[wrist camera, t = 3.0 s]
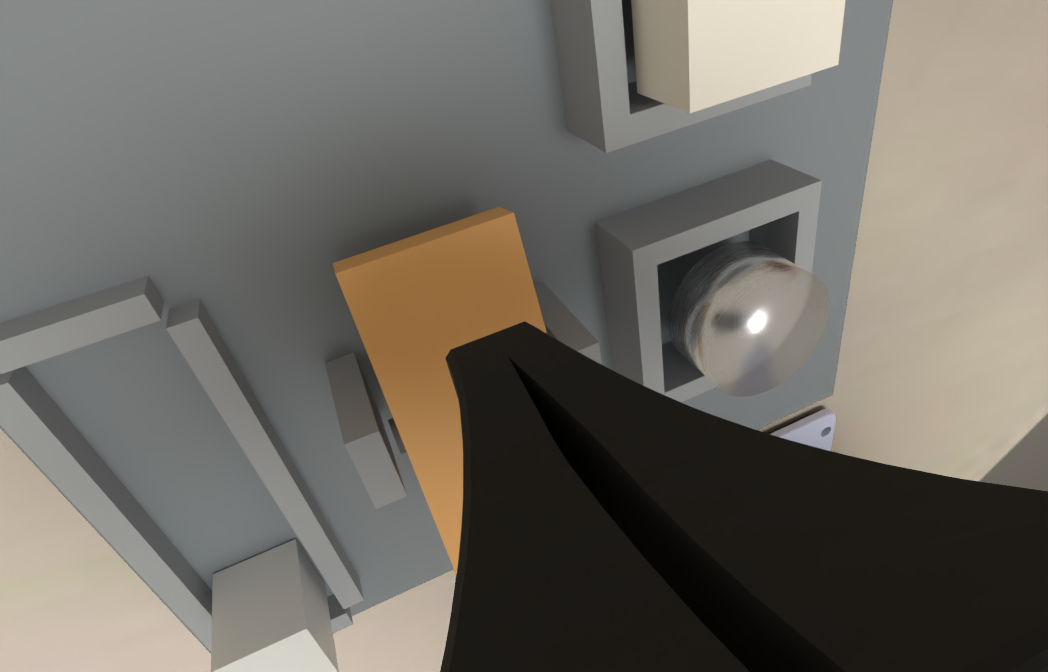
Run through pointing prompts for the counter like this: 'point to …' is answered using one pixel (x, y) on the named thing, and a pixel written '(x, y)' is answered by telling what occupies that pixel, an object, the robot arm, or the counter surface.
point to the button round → (747, 317)
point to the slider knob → (272, 615)
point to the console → (358, 246)
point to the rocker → (437, 336)
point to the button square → (730, 46)
